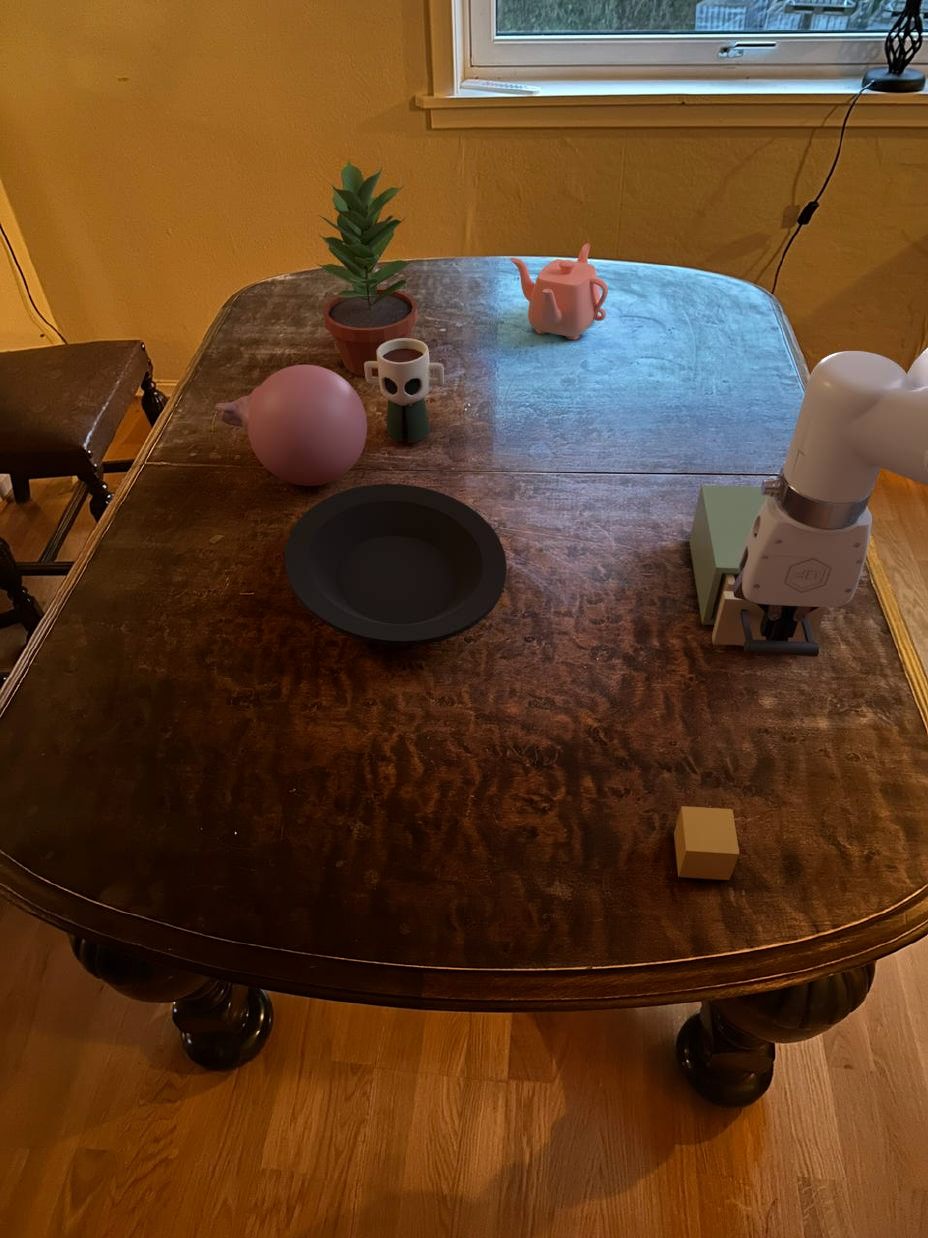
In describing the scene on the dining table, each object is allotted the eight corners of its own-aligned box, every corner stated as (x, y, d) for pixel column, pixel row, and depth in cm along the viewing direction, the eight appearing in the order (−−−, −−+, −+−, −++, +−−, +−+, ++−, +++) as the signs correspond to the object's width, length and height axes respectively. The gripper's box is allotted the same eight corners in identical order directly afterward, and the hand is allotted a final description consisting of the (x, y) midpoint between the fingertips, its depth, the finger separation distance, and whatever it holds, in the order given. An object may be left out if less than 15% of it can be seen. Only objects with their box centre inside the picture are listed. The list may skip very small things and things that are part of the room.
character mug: (367, 446, 125) (357, 362, 116) (375, 418, 130) (366, 336, 121) (443, 449, 124) (440, 364, 115) (449, 421, 129) (445, 338, 120)
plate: (551, 622, 99) (553, 585, 95) (362, 712, 91) (357, 676, 87) (425, 496, 116) (423, 460, 112) (256, 562, 108) (248, 526, 104)
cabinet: (808, 629, 98) (829, 571, 92) (702, 625, 99) (715, 567, 93) (785, 544, 108) (802, 487, 102) (689, 540, 109) (700, 484, 103)
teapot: (541, 354, 143) (544, 287, 135) (508, 316, 152) (508, 252, 144) (622, 337, 146) (629, 271, 138) (584, 301, 155) (589, 238, 148)
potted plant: (345, 334, 149) (321, 139, 127) (431, 344, 146) (421, 146, 124) (311, 378, 139) (279, 175, 117) (403, 390, 135) (387, 183, 114)
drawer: (822, 689, 91) (841, 643, 86) (719, 684, 91) (732, 639, 86) (789, 565, 104) (803, 519, 99) (699, 561, 105) (709, 516, 100)
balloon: (254, 433, 128) (231, 334, 117) (386, 449, 124) (376, 348, 113) (208, 497, 117) (179, 394, 106) (351, 516, 114) (337, 412, 103)
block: (723, 835, 80) (732, 808, 77) (729, 880, 77) (739, 854, 74) (673, 833, 80) (681, 806, 77) (678, 877, 77) (686, 850, 74)
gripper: (740, 517, 75) (703, 662, 88) (922, 525, 74) (857, 670, 87) (729, 466, 80) (695, 610, 93) (899, 472, 79) (840, 616, 92)
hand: (773, 638), depth 90 cm, fingers closed
